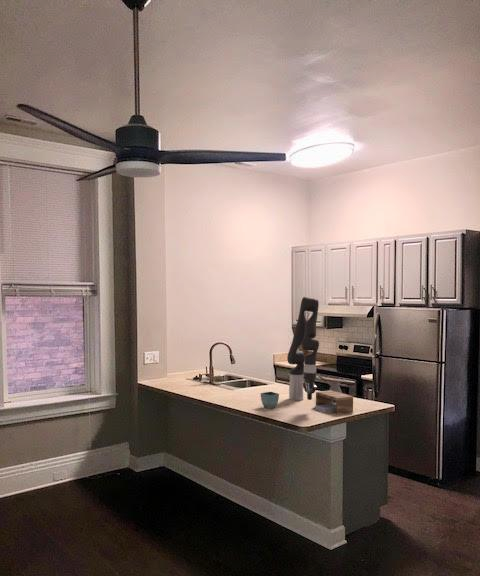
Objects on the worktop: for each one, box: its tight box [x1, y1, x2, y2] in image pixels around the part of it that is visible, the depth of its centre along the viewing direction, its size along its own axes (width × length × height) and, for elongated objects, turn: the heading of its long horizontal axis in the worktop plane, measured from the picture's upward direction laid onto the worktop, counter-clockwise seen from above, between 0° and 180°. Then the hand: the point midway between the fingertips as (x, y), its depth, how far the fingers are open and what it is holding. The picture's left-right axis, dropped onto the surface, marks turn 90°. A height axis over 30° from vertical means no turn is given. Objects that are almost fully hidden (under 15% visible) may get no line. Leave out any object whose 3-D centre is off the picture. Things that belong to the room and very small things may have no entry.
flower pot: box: [259, 391, 280, 409], centre depth 318 cm, size 9×9×9 cm
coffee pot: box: [317, 375, 343, 403], centre depth 344 cm, size 21×12×15 cm, turn 38°
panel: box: [314, 402, 336, 414], centre depth 312 cm, size 10×16×3 cm, turn 118°
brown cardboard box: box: [315, 389, 354, 415], centre depth 314 cm, size 22×12×10 cm, turn 28°
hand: (309, 399), depth 306 cm, fingers closed
